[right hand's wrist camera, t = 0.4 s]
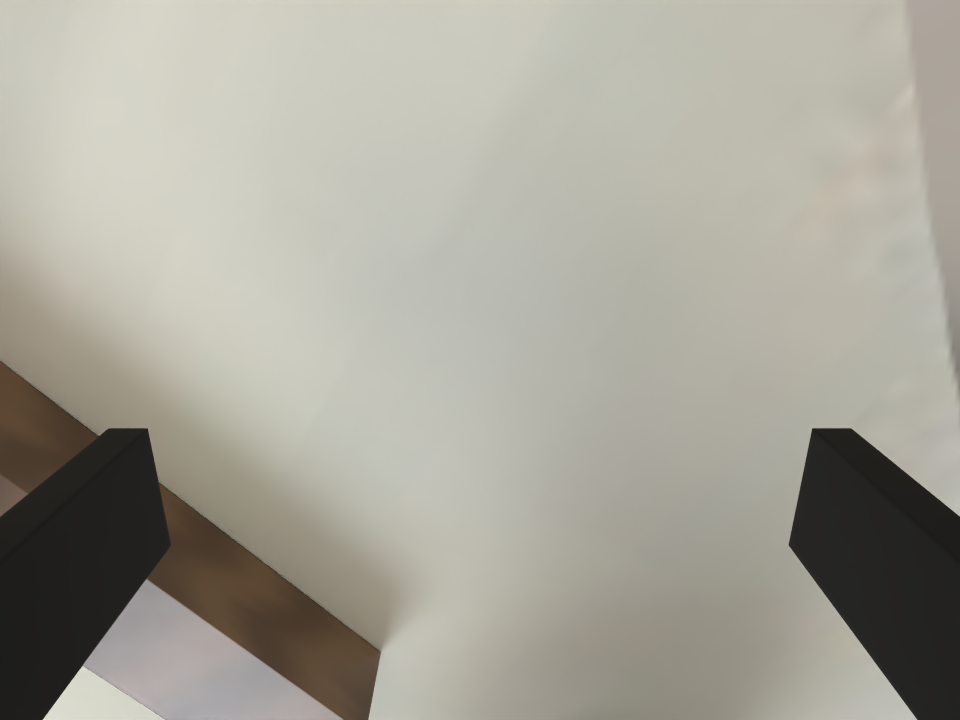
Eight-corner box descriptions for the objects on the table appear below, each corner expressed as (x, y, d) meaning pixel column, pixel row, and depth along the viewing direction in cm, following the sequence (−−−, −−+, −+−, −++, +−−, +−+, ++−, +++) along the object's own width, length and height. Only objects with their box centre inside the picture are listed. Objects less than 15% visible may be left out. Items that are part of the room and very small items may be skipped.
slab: (381, 652, 48) (365, 734, 42) (307, 709, 50) (282, 796, 44) (-335, 104, 34) (-523, 100, 28) (-395, 214, 37) (-583, 234, 30)
